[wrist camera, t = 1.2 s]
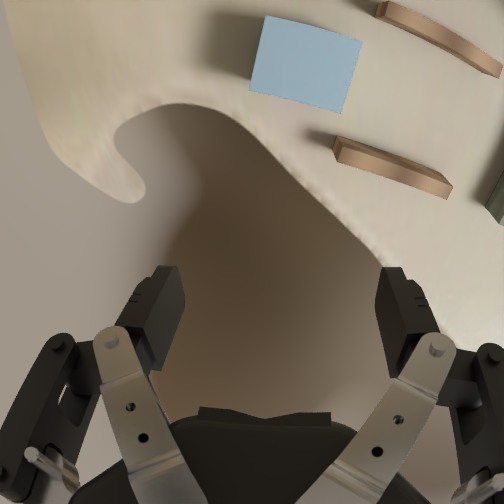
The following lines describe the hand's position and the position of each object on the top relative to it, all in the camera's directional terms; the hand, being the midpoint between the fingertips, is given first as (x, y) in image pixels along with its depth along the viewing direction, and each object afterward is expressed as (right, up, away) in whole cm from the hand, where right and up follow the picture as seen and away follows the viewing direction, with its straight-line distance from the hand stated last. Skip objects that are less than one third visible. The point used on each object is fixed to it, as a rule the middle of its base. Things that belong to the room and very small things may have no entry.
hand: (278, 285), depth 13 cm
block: (+3, +18, +11) cm, 21 cm away
